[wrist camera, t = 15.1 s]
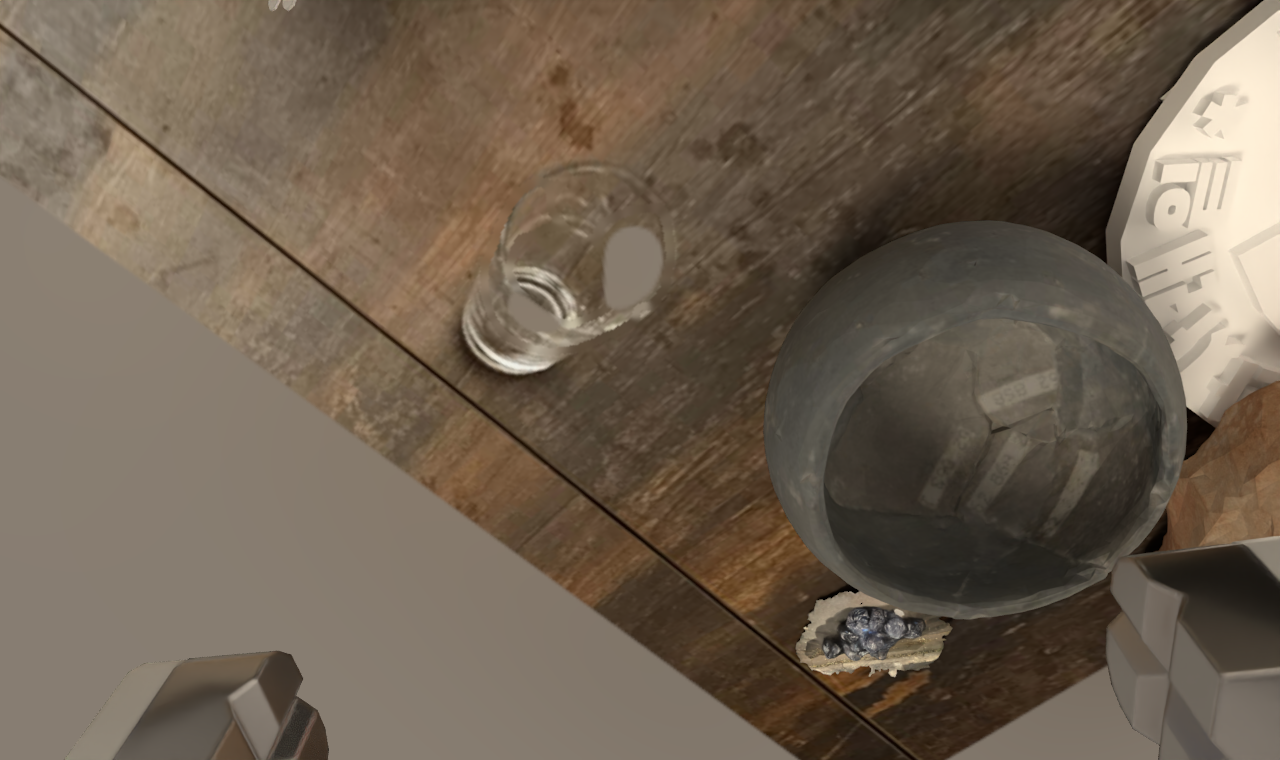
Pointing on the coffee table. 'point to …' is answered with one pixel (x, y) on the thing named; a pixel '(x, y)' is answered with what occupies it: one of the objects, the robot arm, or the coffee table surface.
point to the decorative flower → (287, 4)
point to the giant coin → (1211, 216)
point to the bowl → (975, 421)
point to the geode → (869, 636)
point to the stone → (1231, 479)
